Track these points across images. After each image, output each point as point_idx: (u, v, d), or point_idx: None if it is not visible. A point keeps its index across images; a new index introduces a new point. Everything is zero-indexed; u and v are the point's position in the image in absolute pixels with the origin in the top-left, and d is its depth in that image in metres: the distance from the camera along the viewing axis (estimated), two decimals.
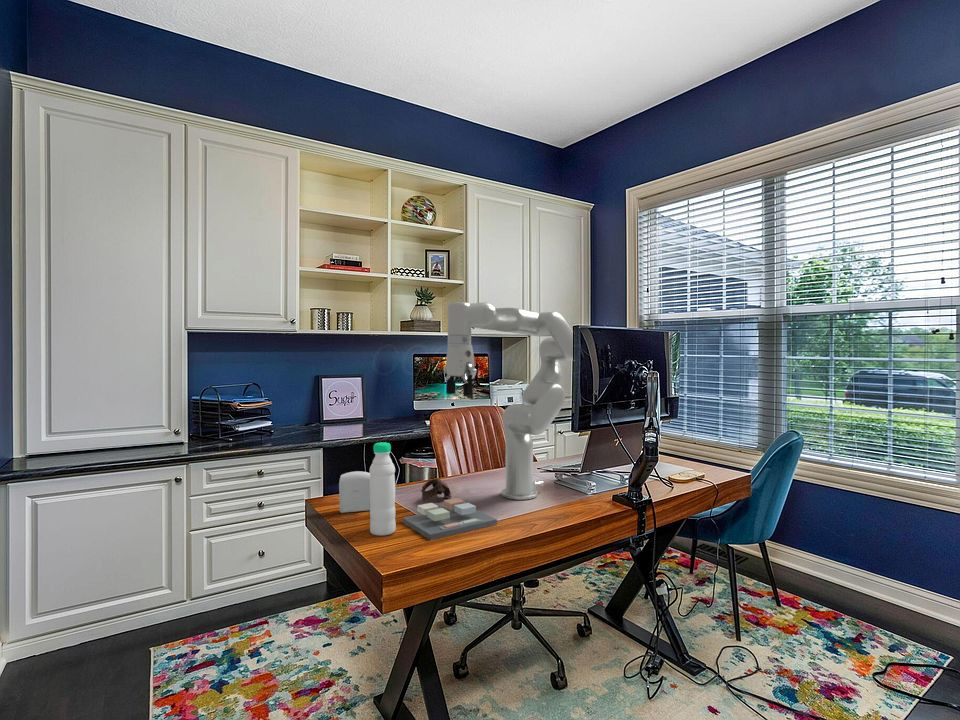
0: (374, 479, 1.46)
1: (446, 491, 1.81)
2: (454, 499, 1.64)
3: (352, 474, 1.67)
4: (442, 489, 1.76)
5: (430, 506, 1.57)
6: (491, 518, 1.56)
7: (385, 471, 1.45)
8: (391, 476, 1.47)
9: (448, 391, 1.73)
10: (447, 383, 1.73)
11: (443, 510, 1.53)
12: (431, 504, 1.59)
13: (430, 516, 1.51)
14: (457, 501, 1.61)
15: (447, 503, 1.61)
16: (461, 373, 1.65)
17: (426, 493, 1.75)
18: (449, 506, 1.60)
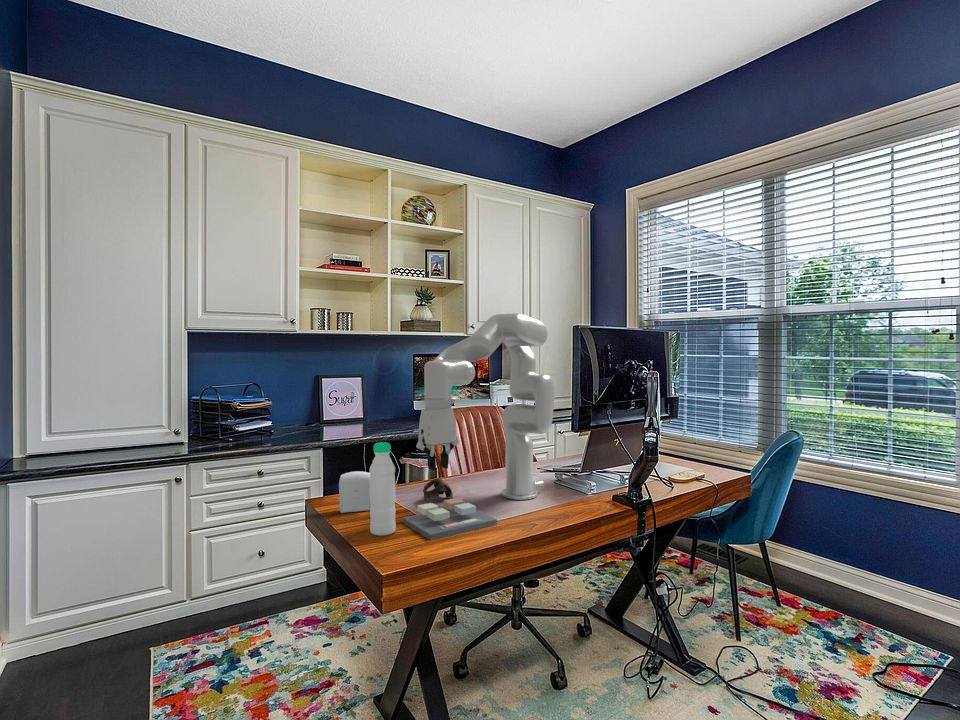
0: (374, 479, 1.46)
1: (448, 491, 1.81)
2: (454, 499, 1.64)
3: (352, 474, 1.67)
4: (444, 489, 1.76)
5: (430, 506, 1.57)
6: (491, 518, 1.56)
7: (385, 471, 1.45)
8: (391, 476, 1.47)
9: None
10: (434, 458, 1.49)
11: (443, 510, 1.53)
12: (431, 504, 1.59)
13: (430, 516, 1.51)
14: (457, 501, 1.61)
15: (447, 503, 1.61)
16: (454, 439, 1.52)
17: (428, 493, 1.75)
18: (449, 506, 1.60)
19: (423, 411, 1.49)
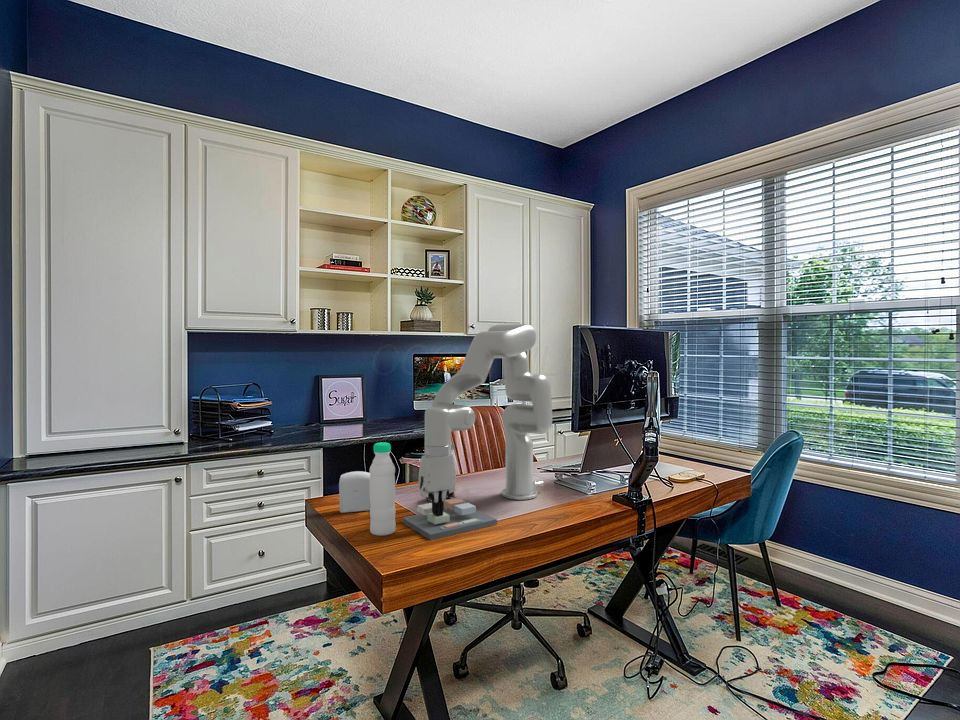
0: (374, 479, 1.46)
1: None
2: (454, 499, 1.64)
3: (352, 474, 1.67)
4: None
5: (430, 506, 1.57)
6: (491, 518, 1.56)
7: (385, 471, 1.45)
8: (391, 476, 1.47)
9: None
10: (439, 504, 1.50)
11: (443, 513, 1.53)
12: (431, 504, 1.59)
13: (430, 519, 1.51)
14: (457, 501, 1.61)
15: (447, 503, 1.61)
16: (453, 485, 1.52)
17: None
18: (449, 506, 1.60)
19: (423, 458, 1.49)
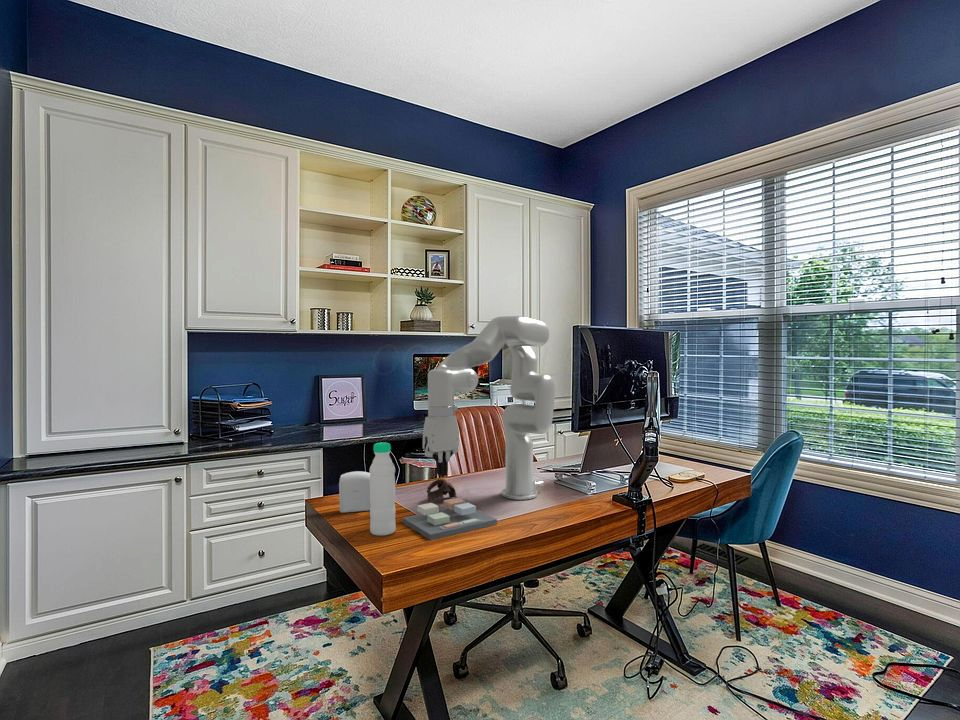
0: (374, 479, 1.46)
1: (451, 491, 1.81)
2: (454, 499, 1.64)
3: (352, 474, 1.67)
4: (448, 489, 1.75)
5: (430, 506, 1.57)
6: (491, 518, 1.56)
7: (385, 471, 1.45)
8: (391, 476, 1.47)
9: None
10: (443, 464, 1.53)
11: (443, 514, 1.53)
12: (431, 504, 1.59)
13: (430, 520, 1.51)
14: (457, 501, 1.61)
15: (447, 503, 1.61)
16: (457, 445, 1.54)
17: (432, 494, 1.75)
18: (449, 506, 1.60)
19: (427, 419, 1.51)
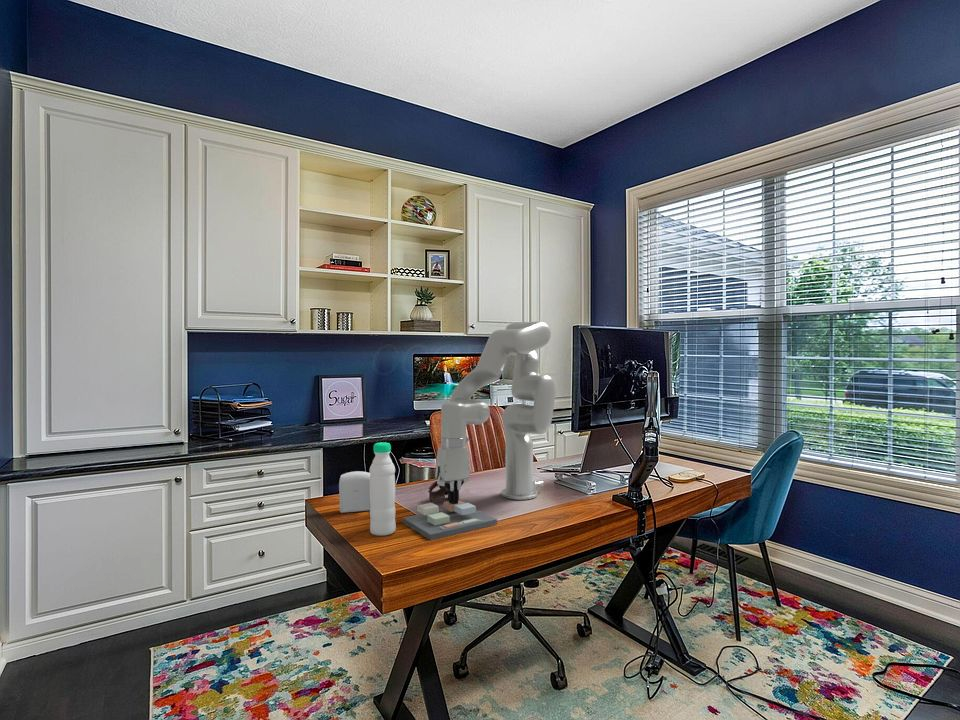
0: (374, 479, 1.46)
1: None
2: None
3: (352, 474, 1.67)
4: None
5: (430, 506, 1.57)
6: (491, 518, 1.56)
7: (385, 471, 1.45)
8: (391, 476, 1.47)
9: None
10: (454, 492, 1.61)
11: (443, 514, 1.53)
12: (431, 504, 1.59)
13: (430, 520, 1.51)
14: (457, 503, 1.62)
15: (447, 505, 1.61)
16: (468, 475, 1.63)
17: (434, 494, 1.74)
18: (449, 508, 1.60)
19: (440, 449, 1.59)
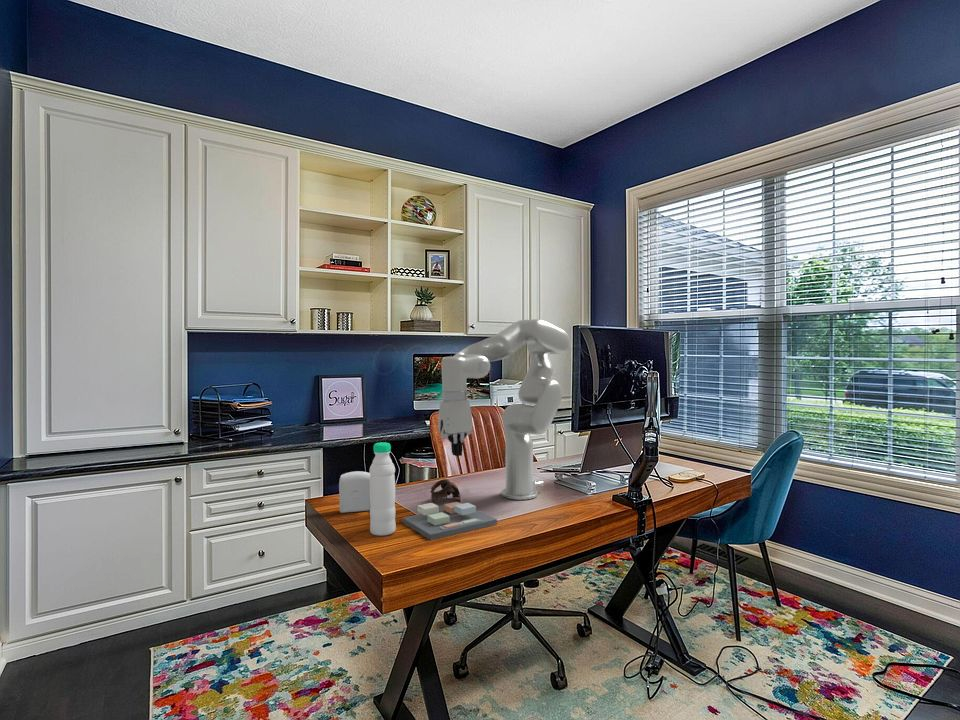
0: (374, 479, 1.46)
1: (455, 492, 1.81)
2: (454, 503, 1.64)
3: (352, 474, 1.67)
4: (452, 490, 1.75)
5: (430, 506, 1.57)
6: (491, 518, 1.56)
7: (385, 471, 1.45)
8: (391, 476, 1.47)
9: None
10: (458, 445, 1.64)
11: (443, 514, 1.53)
12: (431, 504, 1.59)
13: (430, 520, 1.51)
14: None
15: (447, 507, 1.61)
16: (470, 427, 1.66)
17: (436, 494, 1.74)
18: (449, 510, 1.60)
19: (442, 403, 1.62)
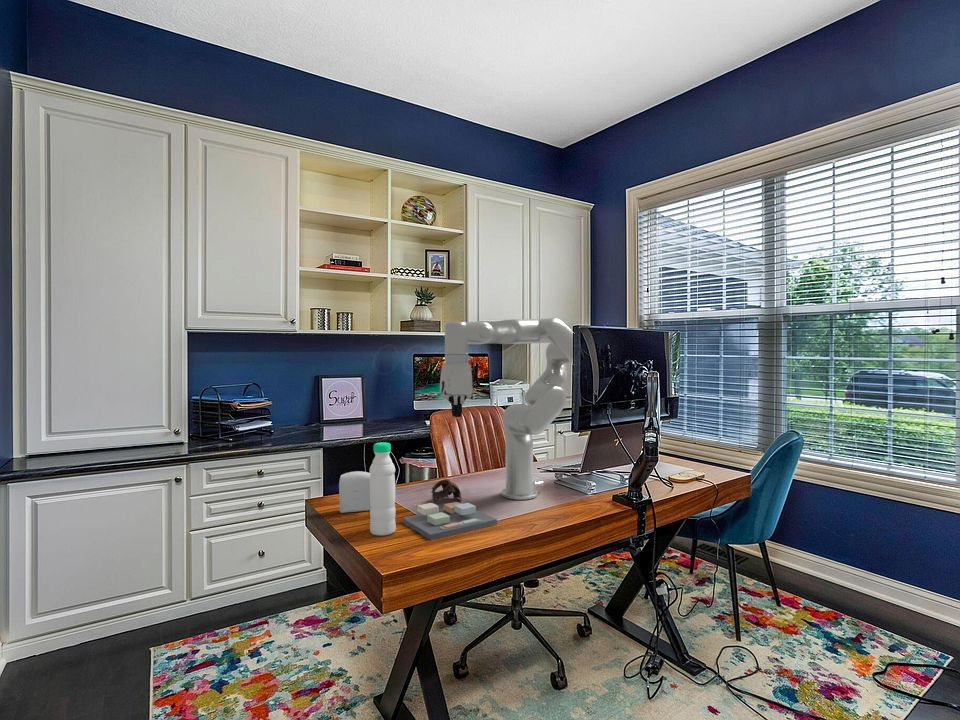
0: (374, 479, 1.46)
1: (456, 492, 1.81)
2: (454, 503, 1.64)
3: (352, 474, 1.67)
4: (453, 490, 1.75)
5: (430, 506, 1.57)
6: (491, 518, 1.56)
7: (385, 471, 1.45)
8: (391, 476, 1.47)
9: None
10: (458, 406, 1.71)
11: (443, 514, 1.53)
12: (431, 504, 1.59)
13: (430, 520, 1.51)
14: None
15: (447, 507, 1.61)
16: (470, 390, 1.73)
17: (437, 494, 1.74)
18: (449, 510, 1.60)
19: (444, 365, 1.70)
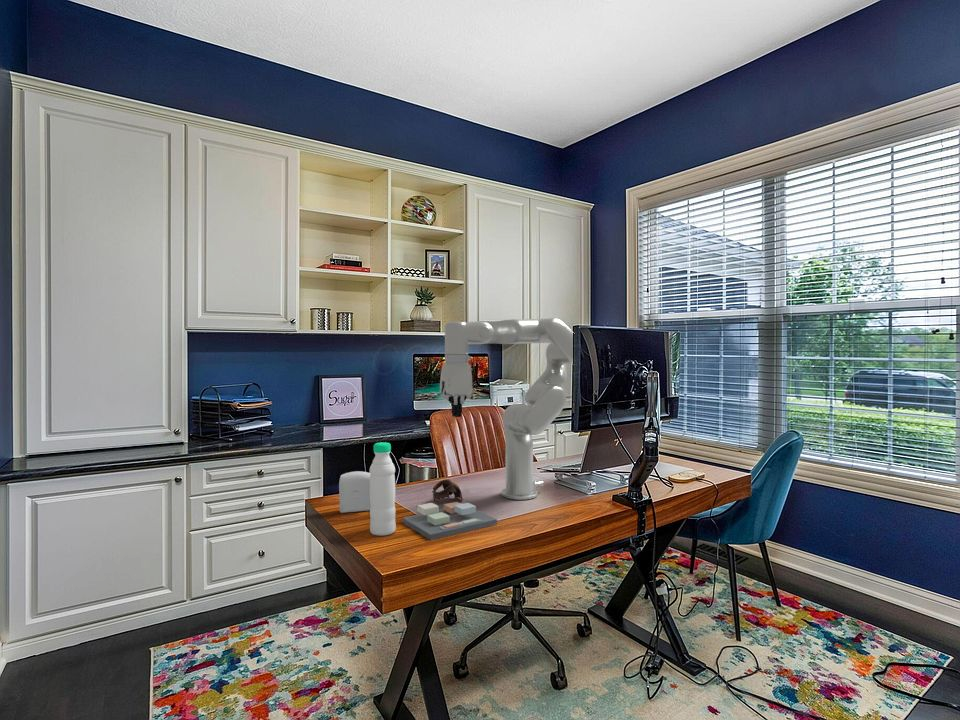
0: (374, 479, 1.46)
1: (457, 492, 1.80)
2: (454, 503, 1.64)
3: (352, 474, 1.67)
4: (454, 490, 1.75)
5: (430, 506, 1.57)
6: (491, 518, 1.56)
7: (385, 471, 1.45)
8: (391, 476, 1.47)
9: None
10: (458, 406, 1.71)
11: (443, 514, 1.53)
12: (431, 504, 1.59)
13: (430, 520, 1.51)
14: None
15: (447, 507, 1.61)
16: (470, 390, 1.73)
17: (438, 494, 1.74)
18: (449, 510, 1.60)
19: (444, 365, 1.70)
